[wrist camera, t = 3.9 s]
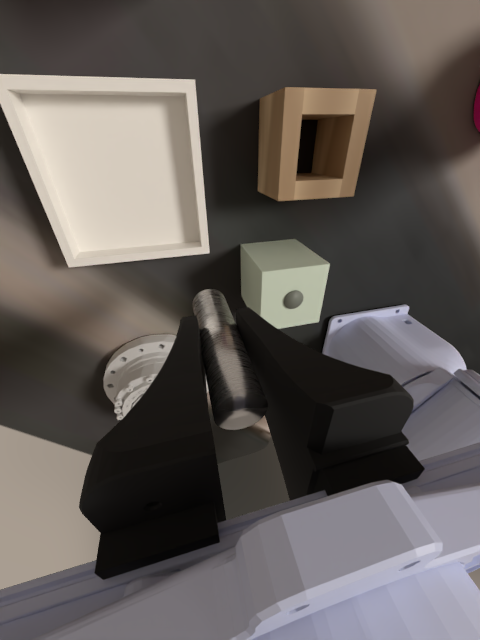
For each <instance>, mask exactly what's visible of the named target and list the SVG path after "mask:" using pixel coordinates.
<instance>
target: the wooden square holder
mask: <svg viewBox="0 0 480 640" xmlns="http://www.w3.org/2000/svg"><path fill="white" fill-rule="evenodd" d="M376 90H377V89H337V88H297V87H285V88H282V89H280V90H278V91H276V92H274V93H271V94H269V95H267V96H265V97H263V98H260V109H259V155H258V192H260V193H262V194H264V195H266V196H268V197H270V198H272V199H275V200H277V201H290V200H305V199H320V198H335V197H351V196H354V192H355V188H356V183H357V178H358V174H359V169H360V164H361V160H362V155H363V150H364V146H365V141H366V136H367V132H368V127H369V123H370V118H371V113H372V109H373V104H374V99H375V95H376ZM302 120H318V123H317V131H316V140H315V148H314V156H313V164H312V172H311V173H297V163H298V152H299V142H300V131H301V121H302Z"/></svg>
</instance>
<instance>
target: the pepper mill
mask: <svg viewBox="0 0 480 640" xmlns="http://www.w3.org/2000/svg"><path fill="white" fill-rule="evenodd" d="M474 122H475V126H476V128H477V129H478V131H479V132H480V85H479V87H478V89H477V93H476V97H475V102H474Z"/></svg>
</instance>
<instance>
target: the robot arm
mask: <svg viewBox="0 0 480 640" xmlns="http://www.w3.org/2000/svg"><path fill="white" fill-rule="evenodd" d="M408 310H409V306H407V305H399V306H393V307H387V308H381V309H374V310H368V311H362V312H356V313H350V314H344V315H338V316H333V317H331V319H330V320H329V324H328V329H327V333H326V338H325V342H324V347H323V351H322V353H320V352H318V351H315V350H313V349H311V348H309V347H307V346H305V345H303V344H301V343H299V342H298V341H296V340H294V339H292V338H291V337H289V336H288V335H286V334H284V333H283V332H281V331H280V330H278V329H277V328H275V327H274V326H273V325H271V324H270V323H269V322H267V321H266V320H265V319H263V318H262V317H261V316H259V315H258V314H257V313H256V312H254V311H253V310H252V309H251V308H249V307H246V308H240V309H236V323H237V329H238V331H239V334H240V336H241V338H242V341H243V343H244V346H245V348H246V351H247V353H248V356H249V358H250V360H251V363H252V365H253V368H254V370H255V373H256V375H257V378H258V380H259V382H260V385H261V387H262V390H263V392H264V395H265V397H266V400H267V402H268V409H267V412H266V414H265V417H266V420H267V423H268V426H269V429H270V433H271V436H272V439H273V442H274V446H275V449H276V452H277V456H278V459H279V462H280V466H281V470H282V473H283V476H284V480H285V484H286V488H287V491H288V495H289V498H290V501H287V502H284V503H281V504H277V505H274V506H271V507H268V508H264V509H261V510H258V511H255V512H251V513H248V514H245V515H242V516H239V517H235V518H232V519H229V520H226V516H225V510H224V504H223V497H222V491H221V485H220V478H219V472H218V465H217V459H216V453H215V447H214V441H213V435H212V429H211V424H210V418H209V412H208V402H207V388H206V374H205V369H204V364H203V358H202V347H201V338H200V331H199V325H198V320H197V315H195V316H189V317H183V318H182V319H181V320H180V326H179V330H178V333H177V336H176V339H175V341H174V344H173V346H172V348H171V351H170V353H169V355H168V357H167V359H166V361H165V363H164V364H163V366H162V368H161V370H160V371H159V373H158V374H157V376H156V378H155V379H154V381H153V382H152V383H151V385H150V386H149V388H148V389H147V390H146V392H145V393H144V394H143V396H142V397H141V398H140V399H139V401H138V402H137V403H136V404H135V405H134V406H133V408H132V409H131V410H130V411H129V412H128V413H127V414H126V416H125V417H124V418H123V419H122V420H121V421H120V422H119V423H118V424H117V425H116V426H115V427H114V428H113V429H112V430H111V431H110V432H109V433H107V434H106V435H105V436H104V437H103V438H102V439H101V440H100V441H99V442H98V443H97V444H96V447H95V450H94V452H93V455H92V458H91V460H90V463H89V466H88V469H87V472H86V476H85V480H84V485H83V489H82V493H81V498H80V505H79V508H80V510H81V512H82V514H83V515H84V516H85V517H86V518H87V519H88V520H89V521H90V522H91V523H92V524H93V525H94V526H95V527H96V528H97V529H98V530H99V532H101V535H100V542H99V547H98V554H97V560H95V561H92V562H89V563H86V564H83V565H79V566H76V567H73V568H70V569H66V570H63V571H60V572H56V573H53V574H50V575H47V576H44V577H41V578H37V579H34V580H31V581H27V582H24V583H21V584H17V585H14V586H11V587H8V588H4V589H1V590H0V640H480V590H479V589H478V588H477V586H476V585H475V584H474V582H473V581H472V579H471V578H470V576H469V575H468V573H470V572H472V571H475V570H477V569H479V568H480V375H479V374H477V373H476V372H474V371H473V370H466V365H465V363H464V361H463V359H462V357H461V355H460V354H459V352H458V351H457V350H456V349H455V348H454V347H453V346H452V345H451V344H449V343H448V342H447V341H445V340H444V339H442V338H441V337H439V336H438V335H437V334H435V333H434V332H432V331H431V330H429V329H428V328H426V327H425V326H424V325H422V324H421V323H419V322H418V321H416V320H415V319H414V318H412V317H411V316H409V315H408V314H407V313H408ZM339 319H340V320H339ZM338 320H339V321H338Z"/></svg>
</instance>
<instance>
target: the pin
mask: <svg viewBox="0 0 480 640" xmlns="http://www.w3.org/2000/svg"><path fill="white" fill-rule="evenodd" d="M193 311H194V316H195V315H197V320H198V325H199V331H200V338H201V347H202V358H203V364H204V369H205V374H206V379H207V385H208V390H209V395H210V401H211V406H212V411H213V416H214V421H215V423H216V424H217V425H218V426H219V427H221V428H223V429H228V430H238V429H243V428H246V427H249V426H251V425H253V424H255V423H256V422H258V421H259V420H260V419H261V418H262V417H263V416H264V415H265V414H266V412H267V409H268V402H267V400H266V397H265V395H264V392H263V390H262V387H261V385H260V382H259V380H258V378H257V375H256V373H255V370H254V368H253V365H252V363H251V360H250V358H249V356H248V353H247V351H246V348H245V346H244V343H243V341H242V338H241V336H240V334H239V331H238V329H237V326H236V324H235V321H234V319H233V316H232V314H231V312H230V309H229V307H228V304H227V302H226V299H225V297H224V295H223V294H222V293H221V292H219V291H218V290H215V289H206V290H203V291H201V292H199V293H198V294H197V295H196V296H195V298H194V300H193Z"/></svg>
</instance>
